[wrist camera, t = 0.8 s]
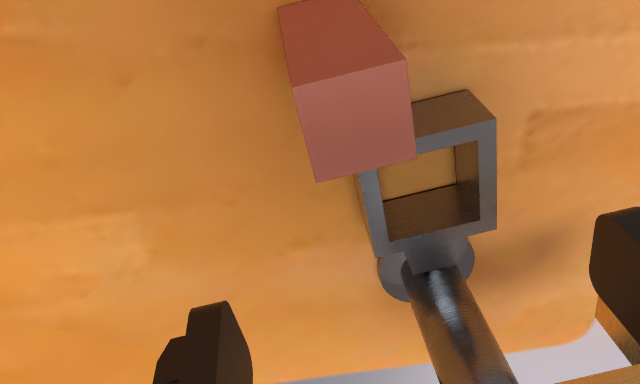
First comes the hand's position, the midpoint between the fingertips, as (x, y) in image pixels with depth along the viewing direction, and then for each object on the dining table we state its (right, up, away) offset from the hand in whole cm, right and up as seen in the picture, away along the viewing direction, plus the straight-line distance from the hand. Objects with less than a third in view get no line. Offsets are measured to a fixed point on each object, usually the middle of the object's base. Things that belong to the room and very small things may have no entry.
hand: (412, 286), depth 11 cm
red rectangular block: (-2, +10, +15) cm, 19 cm away
